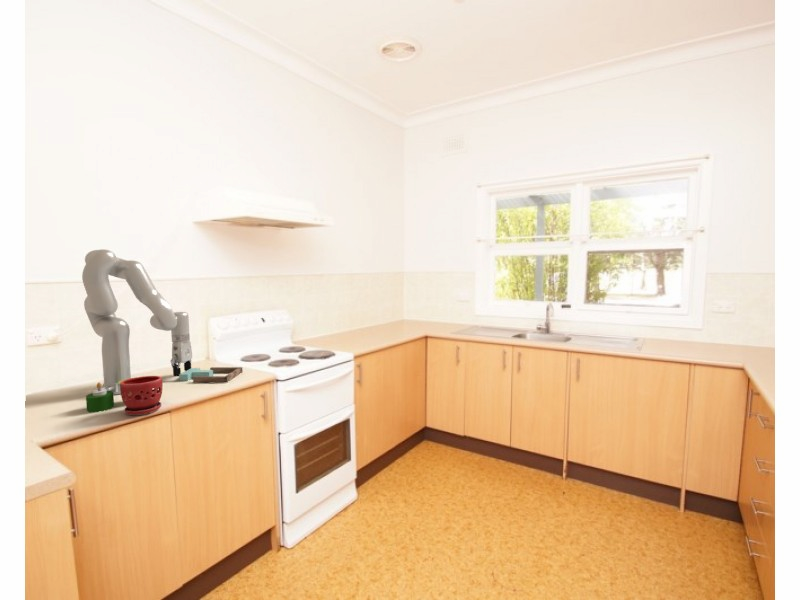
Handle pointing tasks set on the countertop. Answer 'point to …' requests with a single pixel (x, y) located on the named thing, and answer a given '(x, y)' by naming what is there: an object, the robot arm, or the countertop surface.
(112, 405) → the candle
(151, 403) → the plant pot
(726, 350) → the countertop surface
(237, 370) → the walnut bay
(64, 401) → the countertop surface
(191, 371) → the teal T-block
